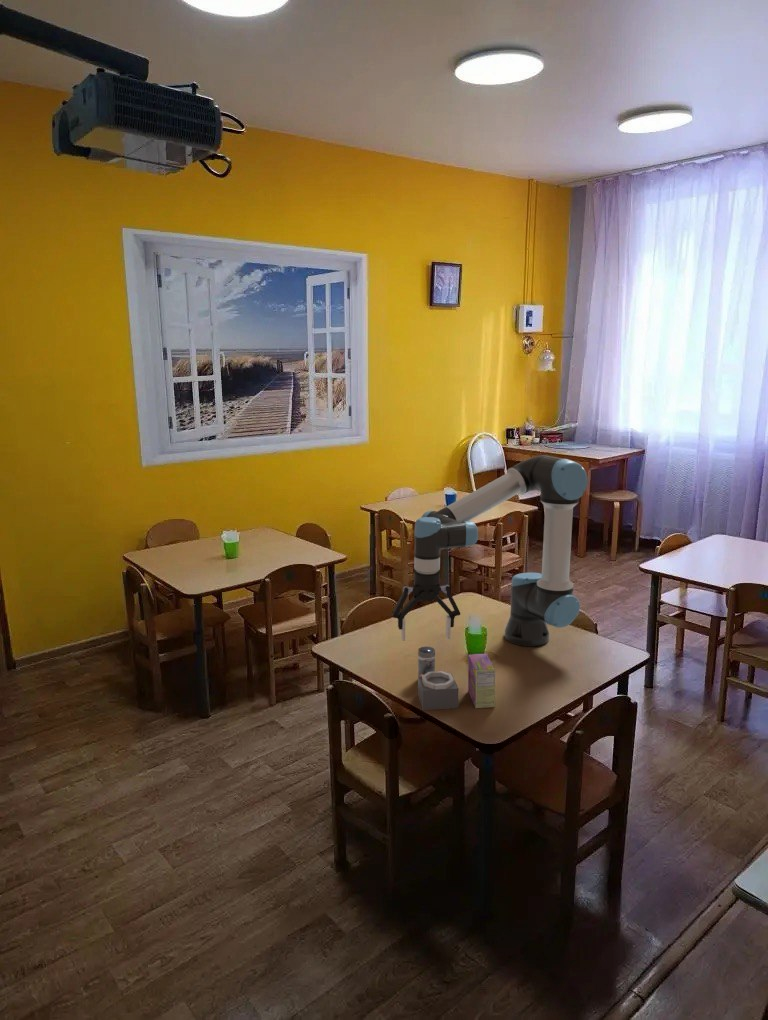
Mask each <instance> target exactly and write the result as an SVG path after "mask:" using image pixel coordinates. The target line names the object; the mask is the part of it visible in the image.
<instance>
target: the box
mask: <svg viewBox="0 0 768 1020" xmlns="http://www.w3.org/2000/svg"><path fill="white" fill-rule="evenodd" d="M467 656H468V657H467V665H468V666H467V667H468V669H467V674H468V675H467V677H468V679H467V689H468V690H467V691H468V694H469V696H470V699H471V701H472V704H473V706H474V707H475V708H474V709H485V708H486V709H489V708H496V701H495V700H496V672H497V671H496V667H495V665H494V664H493V663H492V660H491V659H490V657H489V655H488V653H473V654H468V655H467Z"/></svg>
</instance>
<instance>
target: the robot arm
mask: <svg viewBox="0 0 768 1020" xmlns="http://www.w3.org/2000/svg"><path fill="white" fill-rule="evenodd" d="M588 480H589V479H588V475H587V472H586V470H585V468H584V467H583V466H582V465H581V464H580V463H578V462H576V461H573V460H571V459H569V458H562V457H557V456H551V455H548V454H547V455H546V454H543V455H541V454H540V455H536V456H535V455H534V456H532V457H530V458H528V459H525V460H523V461H520V462H519V463H517V464H515V465H513V466H511V467H509V468H508V469H507V470H506V473H505V474H503V475H501V476H500V477H498V478H496V479H494V480H493V481H490V482H488V483H486V484H485V485H483V486H481V487H479V488H477V489H476V490H474V491H472V492H470V493H469V494H467V495H465V496H462V497H461V498H460V499H458V500H455V501H454V502H452V503H450V504H448V505H446V506H445V507H443V508H442V509H440V510H437V511H436V510H428V511H426V512H424V513H423V514H422V515H421V517H419V518H417V519H416V521H415V523H414V531H413V536H414V561H413V562H414V565H413V569H414V571H413V586H407V585H405V584H404V585H403V587H402V593H401V595H400V597H399V599H398V601H397V603H396V604H395V606H394V607H393V610H392V613H391V615H392V618H393V619H397V627H398V630H401V639H402V642H406V618H405V617H406V616H407V615H408V613H409V612H410V611H411V610H412V609H413V608H414V606H416V604H418V603H419V602H433V601H434V600H435V601H436V602H437V603H438V605H439V606H440V607H441V608H442V609H443V610H444V612H446V615H445V617H446V621H445V622H446V623H445V636H446V639H447V640H450V639H451V628H454V627H455V618H456V617H458V616H461V611H460V609H459V608H458V605H457V603H456V601H455V599H454V596H452V593H451V592H452V591H451V587H450V585H449V584H448V583H445V584H444V585H440V576H441V574H440V573H441V572H440V569H441V550H450V549H456V548H467V547H471V546H474V545H475V544H476V543H477V542H478V539H479V530H478V527H477V525H476V523H475V522H474V521H472V520H473V519H476V517H479V516H481V515H483V514H484V513H486V512H488V511H490V510H492V509H493V508H495V507H497V506H499V505H500V504H502V503H504V502H505V501H507V500H509V499H511V498H513V497H515V496H516V495H521V496H523V495H525V494H527V493H529V492H533V491H539V492H540V503H541V504H543V506H544V519H543V521H544V524H543V542H542V543H543V544H542V545H543V546H542V563H541V573H540V572H521V573H517V574H515V575H513V576H512V578H511V585H510V615H509V619H508V621H507V623H506V625H505V628H504V639H505V640H506V641H508V642H509V643H511V644H513V645H518V646H523V647H538V646H543V645H546V644H547V643H548V642H549V640H550V632H549V631H550V630H549V628H548V625H549V626H553V627H554V628H560V629H561V628H566V627H568V626H569V625H571V624H572V623H573V621H574V620H576V619H577V617H578V615H579V613H580V609H581V605H580V604H581V603H580V600H579V599H578V598H577V597H576V596H575V595H574V583H573V582H572V581H571V580H570V568H571V565H570V564H571V552H572V551H571V550H572V549H571V548H572V531H573V517H574V516H573V515H574V507H576V506H577V505H578V504H579V501H580V498H581V497H582V496H583V495H584V492H586V490H587V487H588V483H589V482H588ZM441 591H442V592H443V593H444V594H446V596H447V599H448V601H449V602H450V605H451V607H452V609H453V610H452V609H450V607H449V606H448V605H447V604H446V603H445V602H444V601H443V600H442V598H441V597H440V596H439V594H441ZM412 592H413V594H414V595H412V597H411V598H410V600H409V601H407V603H406V605H404V604H405V602H406V600H407V598H408V595H410V594H411V593H412ZM403 606H404V607H403ZM402 607H403V608H402Z"/></svg>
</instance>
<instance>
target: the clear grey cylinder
mask: <svg viewBox="0 0 768 1020" xmlns="http://www.w3.org/2000/svg"><path fill="white" fill-rule="evenodd" d="M435 667H436V649H435V648H434V647H431V646H421V647H419V648H418V653H417V668H418V669H417V677H418V676H420V675H421V674H423V675H424V674H426V673H428V672H432V671H436V669H435Z"/></svg>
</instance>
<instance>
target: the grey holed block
mask: <svg viewBox="0 0 768 1020" xmlns="http://www.w3.org/2000/svg"><path fill="white" fill-rule="evenodd" d="M417 696H418V700H419V702H420V705H421V708H422V711H433V710H448V709H449V710H451V709H459V686H458V683H457V682H456V679H455V678H454V675H453V673H448V672H445V671H443V670H438V671H437V670H435V671H432V672H428V673H426V674H424V675H423V674H421V675H420V676H418V675H417Z"/></svg>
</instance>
